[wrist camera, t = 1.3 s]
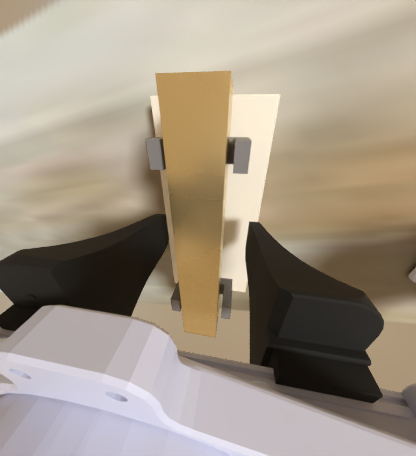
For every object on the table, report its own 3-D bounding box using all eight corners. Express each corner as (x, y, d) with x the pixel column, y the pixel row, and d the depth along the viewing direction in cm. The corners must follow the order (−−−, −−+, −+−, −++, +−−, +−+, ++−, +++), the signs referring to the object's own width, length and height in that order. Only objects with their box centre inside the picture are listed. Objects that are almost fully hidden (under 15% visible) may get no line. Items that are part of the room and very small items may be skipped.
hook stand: (276, 97, 10) (307, 72, 5) (244, 282, 17) (246, 337, 13) (158, 98, 11) (99, 78, 6) (178, 274, 18) (157, 322, 14)
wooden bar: (233, 86, 7) (230, 70, 5) (218, 308, 15) (215, 337, 13) (178, 87, 8) (155, 73, 6) (191, 304, 15) (184, 332, 13)
